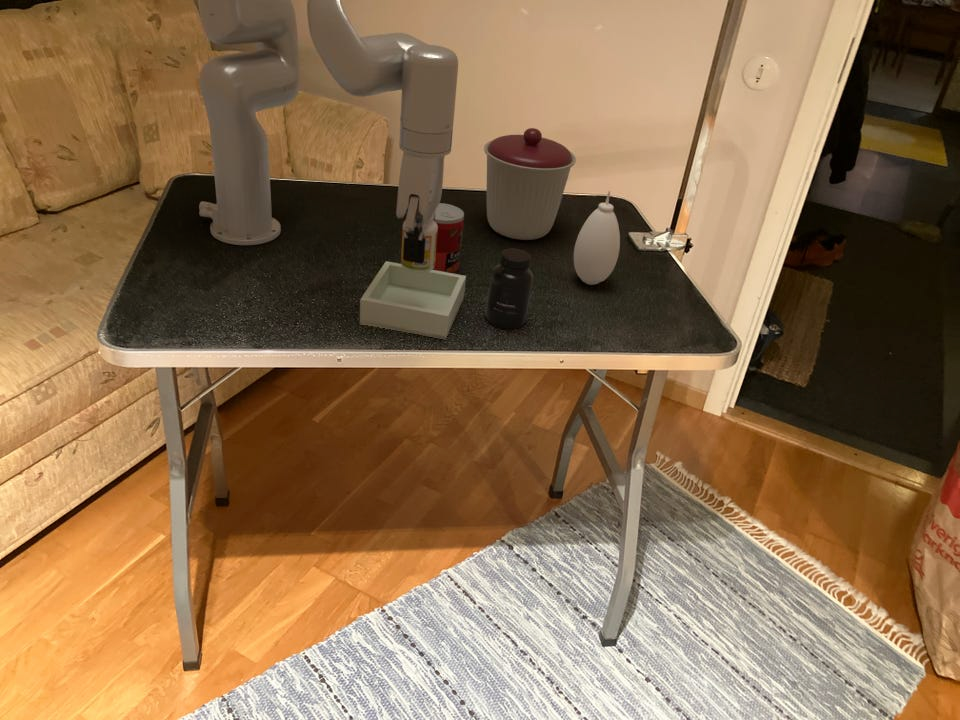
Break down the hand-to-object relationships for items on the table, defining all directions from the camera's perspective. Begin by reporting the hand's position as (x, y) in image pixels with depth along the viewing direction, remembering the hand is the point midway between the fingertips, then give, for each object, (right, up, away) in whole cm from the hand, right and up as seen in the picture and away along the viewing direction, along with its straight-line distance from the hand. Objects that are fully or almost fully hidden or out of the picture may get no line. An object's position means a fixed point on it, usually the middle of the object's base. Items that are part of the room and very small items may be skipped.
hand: (418, 252), depth 117 cm
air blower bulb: (+30, -3, +22) cm, 37 cm away
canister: (+18, +10, +38) cm, 43 cm away
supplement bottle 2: (+14, -10, +7) cm, 19 cm away
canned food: (+2, 0, +20) cm, 20 cm away
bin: (-1, -9, +6) cm, 11 cm away
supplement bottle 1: (0, -2, +2) cm, 3 cm away
